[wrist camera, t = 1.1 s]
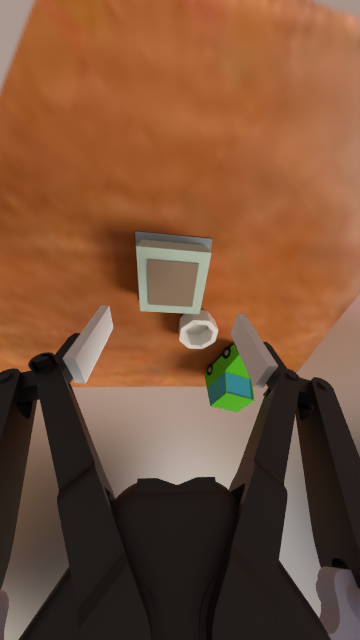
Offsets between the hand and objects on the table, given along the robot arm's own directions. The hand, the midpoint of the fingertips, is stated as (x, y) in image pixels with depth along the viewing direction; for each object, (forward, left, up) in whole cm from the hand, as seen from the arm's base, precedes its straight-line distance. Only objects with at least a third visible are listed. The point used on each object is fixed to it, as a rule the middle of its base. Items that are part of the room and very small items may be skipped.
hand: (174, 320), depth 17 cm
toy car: (+17, -23, -15) cm, 32 cm away
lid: (0, 0, -14) cm, 14 cm away
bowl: (+6, -11, -14) cm, 19 cm away
